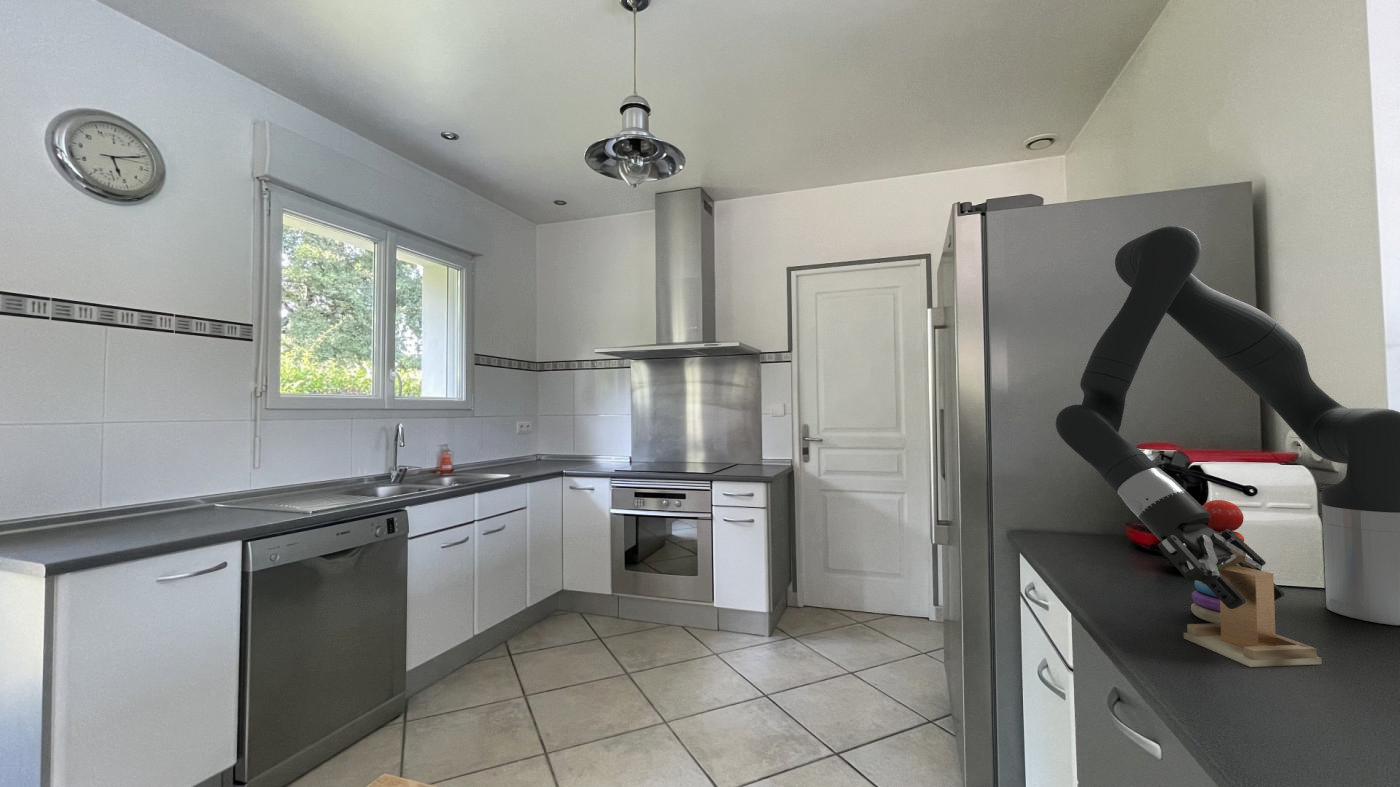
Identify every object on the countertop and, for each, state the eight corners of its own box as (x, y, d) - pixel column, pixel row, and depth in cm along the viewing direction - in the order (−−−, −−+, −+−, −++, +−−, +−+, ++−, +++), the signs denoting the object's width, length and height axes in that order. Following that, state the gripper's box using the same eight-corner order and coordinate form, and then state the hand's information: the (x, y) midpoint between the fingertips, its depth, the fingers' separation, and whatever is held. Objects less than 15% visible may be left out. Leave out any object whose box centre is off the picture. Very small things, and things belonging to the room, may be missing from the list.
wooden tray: (1247, 636, 80) (1247, 622, 80) (1321, 664, 71) (1321, 648, 71) (1183, 638, 80) (1183, 624, 80) (1250, 666, 71) (1249, 651, 71)
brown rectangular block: (1221, 640, 77) (1218, 568, 77) (1239, 636, 78) (1236, 565, 79) (1258, 652, 73) (1255, 576, 74) (1276, 647, 74) (1273, 573, 75)
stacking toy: (1275, 632, 82) (1271, 505, 83) (1213, 628, 84) (1208, 503, 84) (1235, 613, 90) (1231, 497, 90) (1179, 609, 91) (1175, 496, 92)
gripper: (1148, 491, 81) (1250, 594, 70) (1210, 487, 86) (1315, 583, 75) (1112, 521, 86) (1202, 622, 75) (1173, 515, 91) (1266, 609, 79)
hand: (1258, 602), depth 75 cm, fingers open, 8 cm apart
